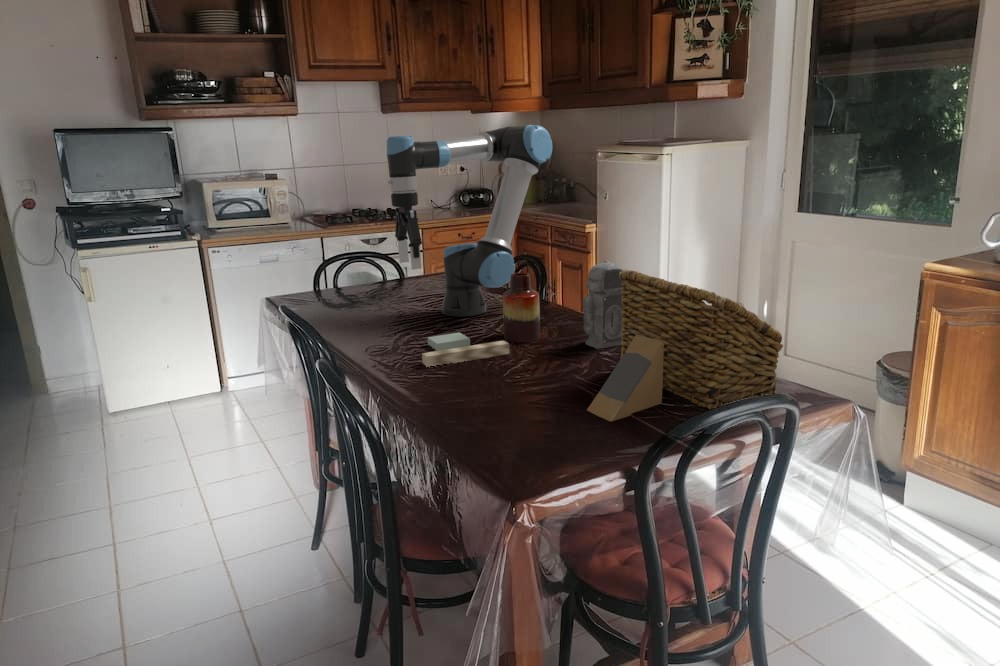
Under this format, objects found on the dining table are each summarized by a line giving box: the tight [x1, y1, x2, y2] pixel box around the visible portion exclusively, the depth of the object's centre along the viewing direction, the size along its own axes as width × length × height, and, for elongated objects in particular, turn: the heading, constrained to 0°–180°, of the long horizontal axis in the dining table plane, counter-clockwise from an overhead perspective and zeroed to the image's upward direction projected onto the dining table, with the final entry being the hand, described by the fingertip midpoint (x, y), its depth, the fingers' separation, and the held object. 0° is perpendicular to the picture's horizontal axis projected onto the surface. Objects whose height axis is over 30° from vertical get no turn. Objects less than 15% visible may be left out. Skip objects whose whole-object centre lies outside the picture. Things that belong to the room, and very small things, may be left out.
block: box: [427, 332, 471, 351], centre depth 206 cm, size 10×8×4 cm
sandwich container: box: [586, 334, 664, 422], centre depth 155 cm, size 9×15×15 cm, turn 123°
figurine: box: [582, 259, 623, 350], centre depth 201 cm, size 10×14×25 cm
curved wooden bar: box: [421, 340, 511, 368], centre depth 194 cm, size 24×4×4 cm, turn 114°
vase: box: [502, 272, 541, 344], centre depth 210 cm, size 11×11×20 cm
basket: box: [619, 269, 784, 410], centre depth 169 cm, size 36×26×27 cm
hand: (410, 265), depth 209 cm, fingers open, 13 cm apart
